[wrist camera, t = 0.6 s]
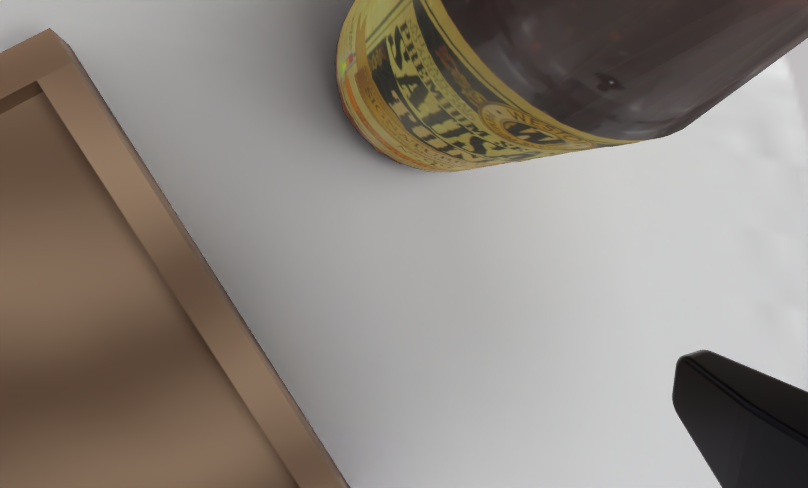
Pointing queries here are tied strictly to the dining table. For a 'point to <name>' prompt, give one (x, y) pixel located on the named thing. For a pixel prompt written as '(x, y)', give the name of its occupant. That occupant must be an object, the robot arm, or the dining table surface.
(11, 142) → the walnut tray
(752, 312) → the dining table surface
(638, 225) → the dining table surface
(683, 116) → the sauce bottle
